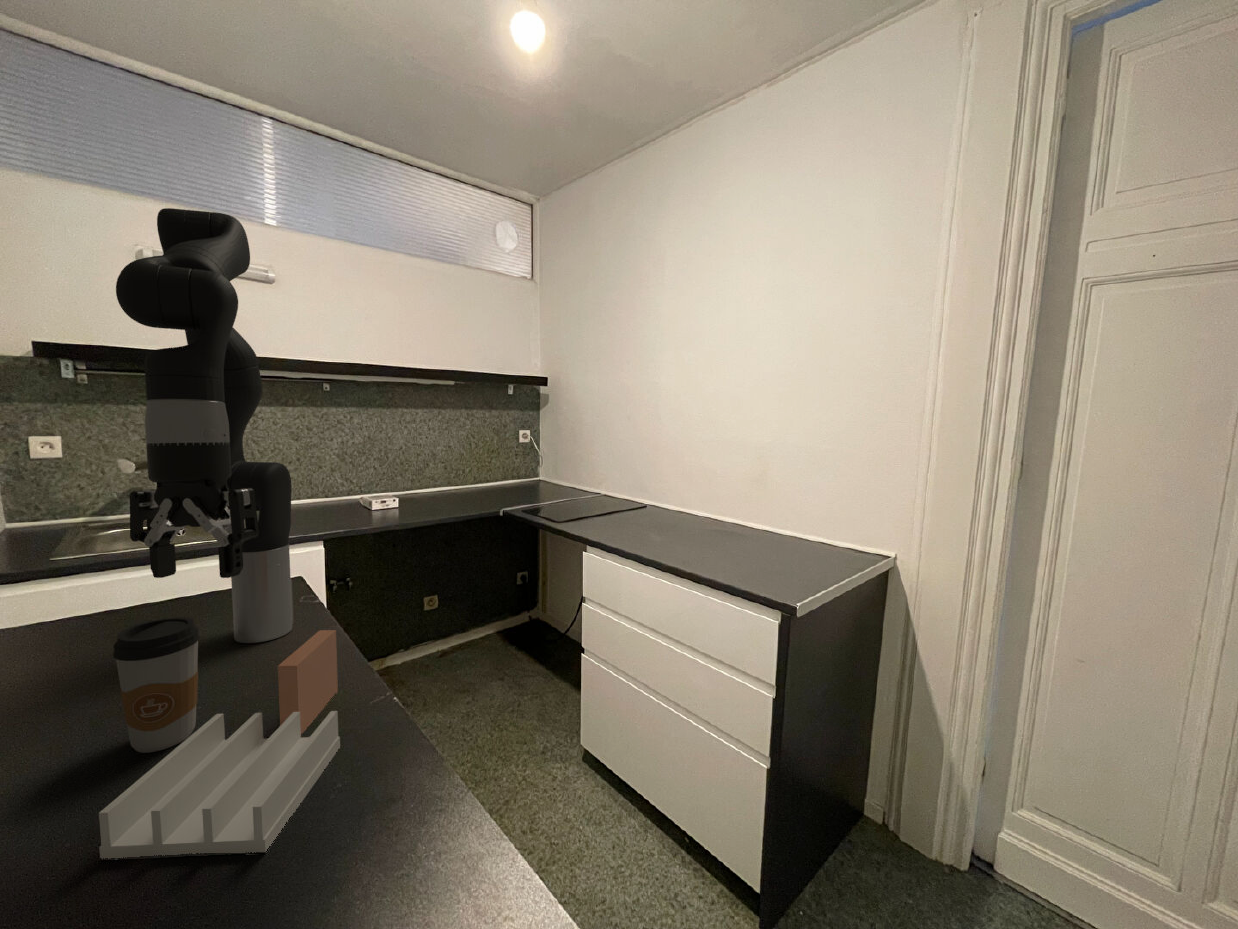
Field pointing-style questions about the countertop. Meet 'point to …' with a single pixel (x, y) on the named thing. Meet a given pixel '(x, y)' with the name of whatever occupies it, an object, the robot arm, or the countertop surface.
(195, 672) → the coffee cup
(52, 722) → the countertop surface
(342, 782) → the countertop surface
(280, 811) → the dish rack
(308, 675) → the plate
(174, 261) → the robot arm
